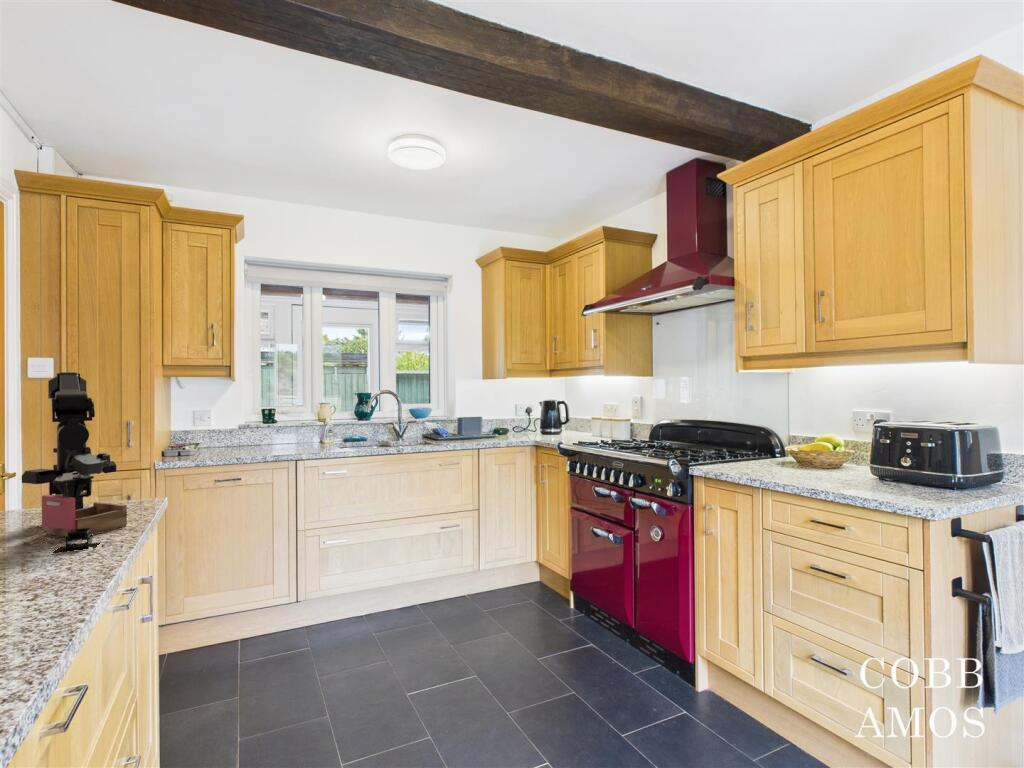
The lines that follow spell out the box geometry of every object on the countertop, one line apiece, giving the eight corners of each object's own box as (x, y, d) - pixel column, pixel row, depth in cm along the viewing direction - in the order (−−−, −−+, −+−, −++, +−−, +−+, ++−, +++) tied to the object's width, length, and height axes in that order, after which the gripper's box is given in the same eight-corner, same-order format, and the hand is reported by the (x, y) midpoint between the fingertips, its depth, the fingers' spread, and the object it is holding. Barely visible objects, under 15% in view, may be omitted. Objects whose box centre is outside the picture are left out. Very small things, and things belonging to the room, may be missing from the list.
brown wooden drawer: (47, 534, 136) (47, 512, 136) (97, 522, 147) (97, 501, 147) (78, 538, 133) (78, 516, 133) (126, 525, 144) (126, 505, 144)
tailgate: (75, 528, 132) (75, 497, 132) (66, 530, 131) (66, 499, 130) (47, 524, 136) (47, 494, 135) (38, 526, 134) (38, 496, 134)
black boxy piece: (39, 558, 120) (39, 537, 120) (51, 548, 127) (51, 529, 127) (107, 551, 125) (107, 531, 125) (115, 542, 132) (115, 523, 132)
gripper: (52, 449, 125) (52, 517, 125) (131, 440, 142) (132, 500, 143) (19, 447, 128) (20, 513, 128) (101, 439, 146) (101, 497, 146)
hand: (72, 505), depth 136 cm, fingers closed
